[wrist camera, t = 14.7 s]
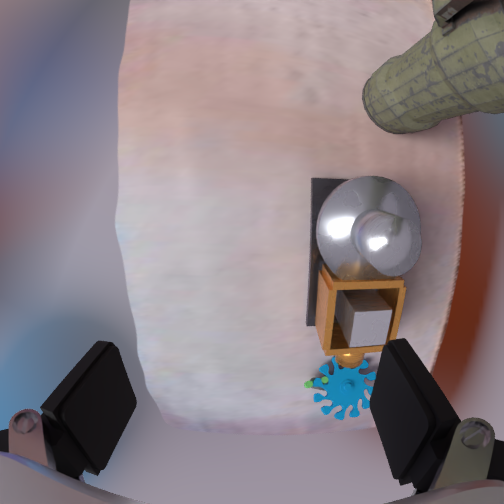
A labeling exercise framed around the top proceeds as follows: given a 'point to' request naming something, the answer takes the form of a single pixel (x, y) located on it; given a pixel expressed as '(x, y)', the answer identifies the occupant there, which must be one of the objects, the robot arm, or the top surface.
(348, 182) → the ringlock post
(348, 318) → the tall grey block
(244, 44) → the top surface
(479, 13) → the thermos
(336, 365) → the blue splat shape
